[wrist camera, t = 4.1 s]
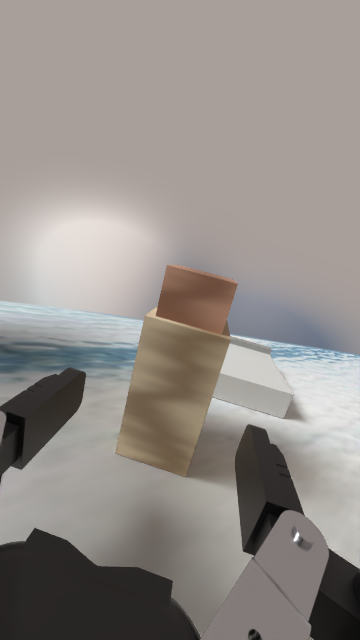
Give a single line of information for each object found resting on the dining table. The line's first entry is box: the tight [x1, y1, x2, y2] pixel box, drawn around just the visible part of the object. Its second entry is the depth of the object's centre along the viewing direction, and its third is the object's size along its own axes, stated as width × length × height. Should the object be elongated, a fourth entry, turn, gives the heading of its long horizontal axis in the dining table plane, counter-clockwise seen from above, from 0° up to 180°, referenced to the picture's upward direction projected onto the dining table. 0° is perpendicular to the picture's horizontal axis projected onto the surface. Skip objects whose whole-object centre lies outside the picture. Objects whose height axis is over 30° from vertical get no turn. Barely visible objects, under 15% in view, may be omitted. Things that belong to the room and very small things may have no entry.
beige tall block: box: [116, 265, 237, 477], centre depth 16 cm, size 5×5×13 cm
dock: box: [212, 336, 294, 419], centre depth 31 cm, size 14×12×4 cm
